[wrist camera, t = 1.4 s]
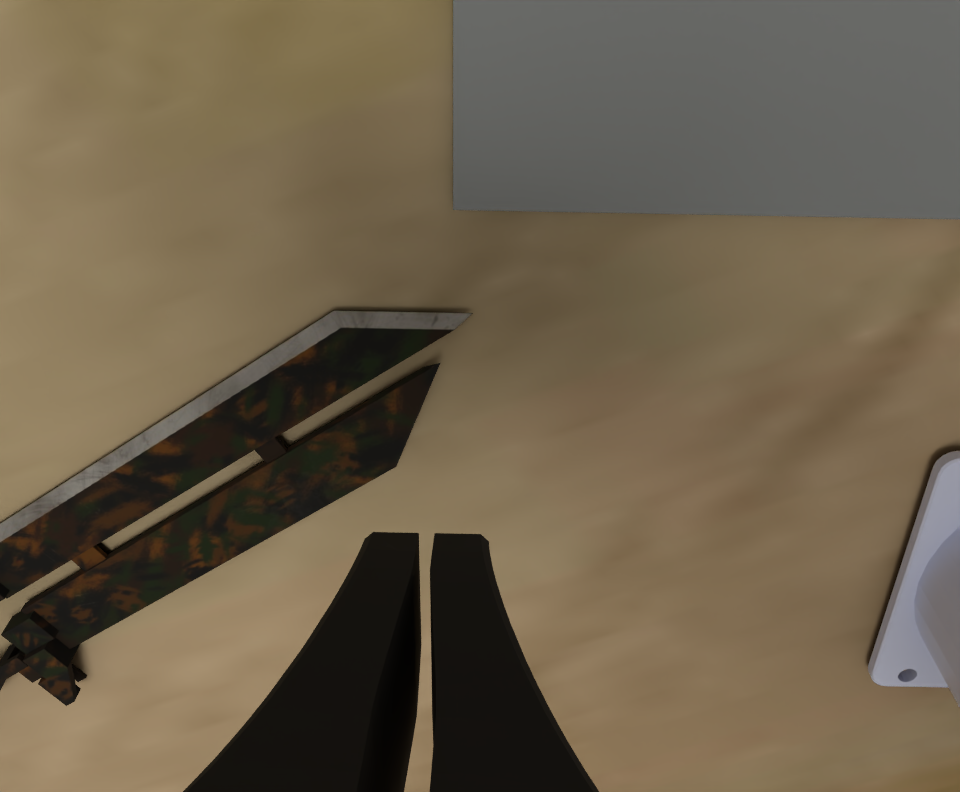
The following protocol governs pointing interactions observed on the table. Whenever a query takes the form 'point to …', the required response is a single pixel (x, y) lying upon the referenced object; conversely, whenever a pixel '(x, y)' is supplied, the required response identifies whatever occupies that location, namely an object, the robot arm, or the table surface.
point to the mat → (708, 107)
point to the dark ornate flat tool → (193, 458)
